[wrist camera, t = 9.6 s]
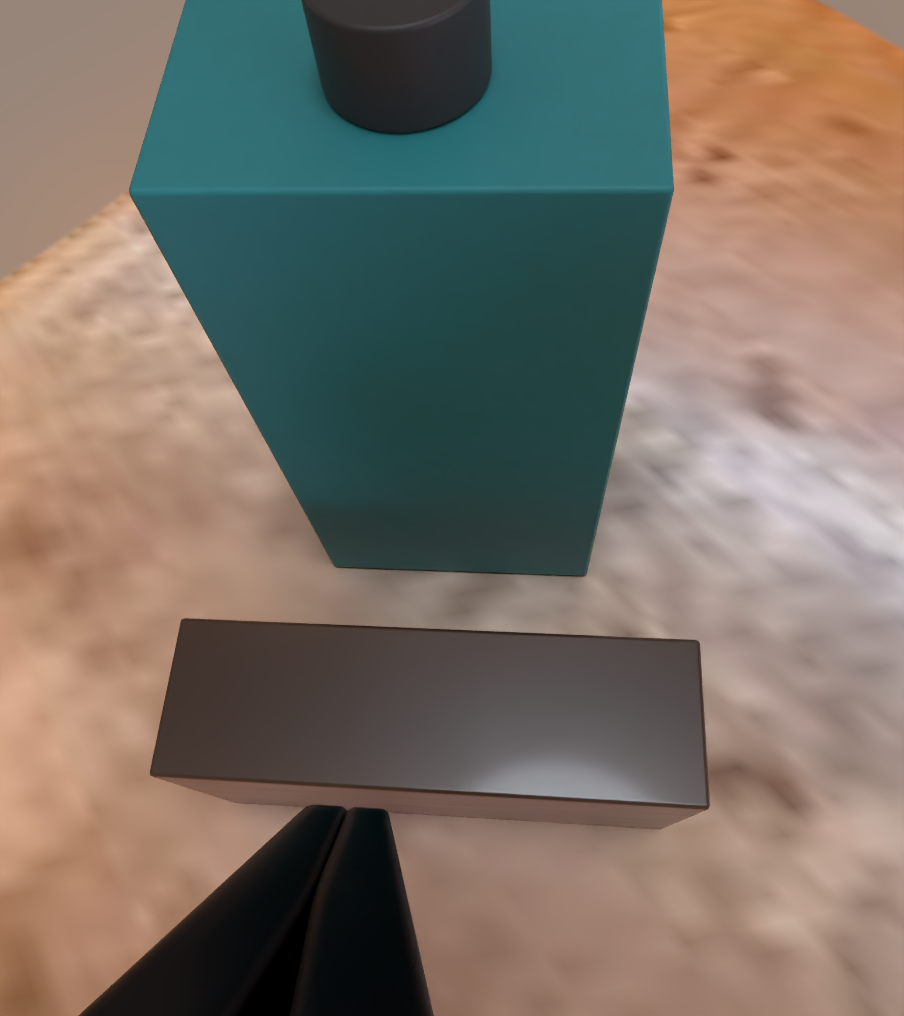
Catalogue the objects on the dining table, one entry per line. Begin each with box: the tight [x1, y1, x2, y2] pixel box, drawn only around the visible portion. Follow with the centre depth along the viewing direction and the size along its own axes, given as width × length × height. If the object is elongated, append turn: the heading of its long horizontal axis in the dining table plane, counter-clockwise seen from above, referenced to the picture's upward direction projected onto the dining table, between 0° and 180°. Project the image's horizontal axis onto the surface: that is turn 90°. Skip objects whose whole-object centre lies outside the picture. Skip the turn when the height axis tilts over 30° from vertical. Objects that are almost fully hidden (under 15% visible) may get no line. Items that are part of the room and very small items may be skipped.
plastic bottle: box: [129, 0, 674, 576], centre depth 16 cm, size 10×7×14 cm, turn 176°
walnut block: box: [150, 618, 710, 829], centre depth 18 cm, size 3×10×5 cm, turn 86°
